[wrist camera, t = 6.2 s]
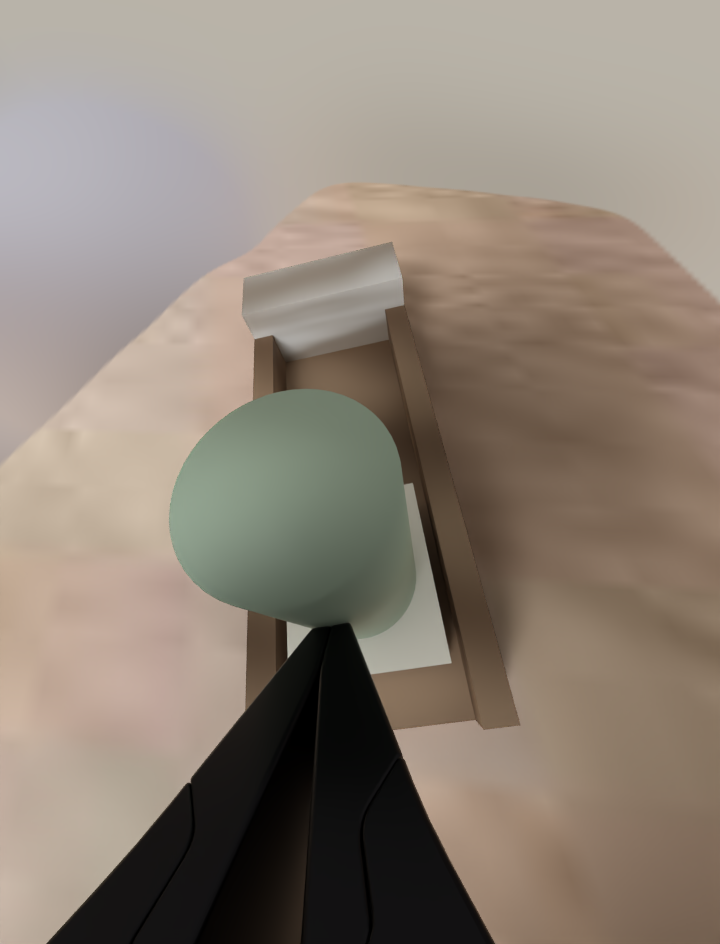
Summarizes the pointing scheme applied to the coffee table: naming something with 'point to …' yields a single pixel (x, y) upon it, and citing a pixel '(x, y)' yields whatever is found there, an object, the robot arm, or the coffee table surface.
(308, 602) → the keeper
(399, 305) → the brown wooden open box
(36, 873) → the coffee table surface
